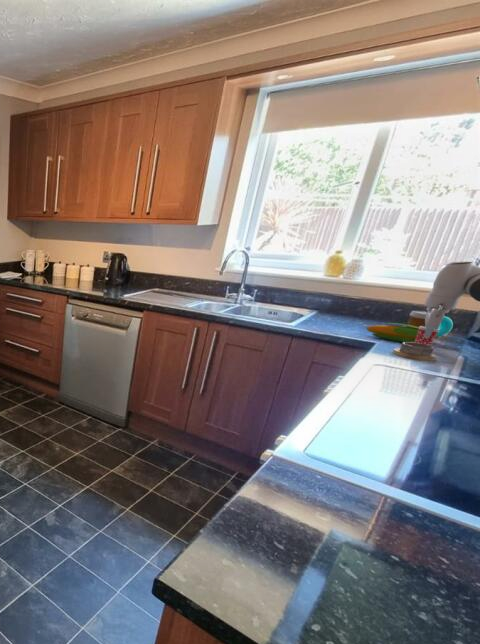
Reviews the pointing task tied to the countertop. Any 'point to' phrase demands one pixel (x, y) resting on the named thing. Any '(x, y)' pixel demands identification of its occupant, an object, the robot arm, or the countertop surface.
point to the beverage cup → (423, 340)
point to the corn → (395, 332)
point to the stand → (415, 351)
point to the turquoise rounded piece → (445, 326)
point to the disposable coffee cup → (417, 318)
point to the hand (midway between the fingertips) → (425, 336)
